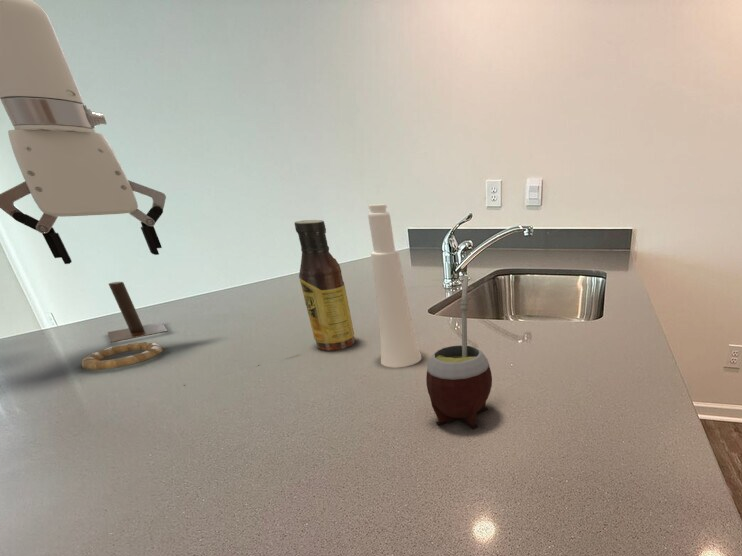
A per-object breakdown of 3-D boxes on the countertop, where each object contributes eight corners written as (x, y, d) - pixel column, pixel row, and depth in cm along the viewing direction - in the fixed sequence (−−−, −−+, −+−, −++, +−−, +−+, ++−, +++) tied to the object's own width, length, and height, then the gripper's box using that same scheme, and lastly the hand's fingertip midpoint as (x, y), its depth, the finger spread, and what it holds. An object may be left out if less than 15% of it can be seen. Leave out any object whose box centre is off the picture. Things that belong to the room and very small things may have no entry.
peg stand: (113, 347, 71) (85, 290, 67) (110, 337, 76) (84, 283, 72) (169, 335, 76) (147, 282, 72) (163, 326, 81) (142, 276, 77)
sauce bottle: (317, 343, 70) (286, 220, 62) (355, 337, 72) (330, 218, 64) (317, 356, 65) (283, 223, 56) (358, 349, 67) (331, 220, 58)
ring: (86, 380, 59) (80, 368, 58) (84, 362, 65) (78, 352, 64) (168, 361, 65) (164, 350, 64) (159, 346, 71) (155, 336, 70)
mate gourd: (447, 442, 42) (430, 299, 35) (420, 411, 48) (401, 284, 41) (508, 421, 46) (504, 287, 39) (475, 394, 52) (467, 275, 45)
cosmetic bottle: (384, 372, 59) (354, 206, 49) (378, 358, 64) (350, 204, 54) (425, 364, 61) (405, 204, 51) (417, 351, 66) (396, 203, 56)
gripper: (136, 128, 60) (181, 249, 67) (-48, 118, 49) (30, 264, 57) (141, 121, 55) (189, 253, 62) (-61, 109, 44) (26, 270, 52)
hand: (114, 258), depth 60 cm, fingers open, 9 cm apart
